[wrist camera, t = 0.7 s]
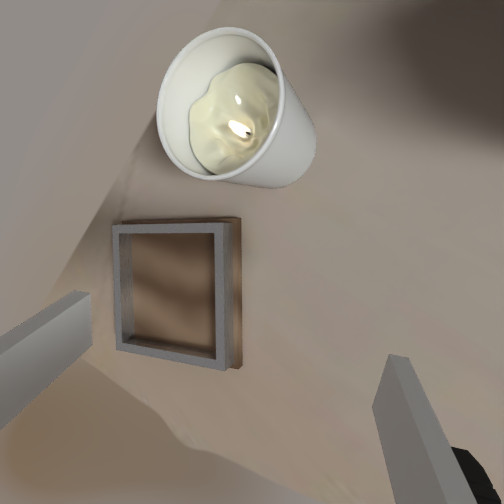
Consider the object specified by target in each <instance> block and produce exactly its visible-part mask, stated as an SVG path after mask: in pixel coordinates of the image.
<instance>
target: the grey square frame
mask: <svg viewBox="0 0 504 504" xmlns="http://www.w3.org/2000/svg"><path fill="white" fill-rule="evenodd" d="M132 233H214V243H215V314H216V352H215V351H209V350H203V349H197V348H192V347H186V346H180V345H174V344H168V343H162V342H156V341H151V340H145V339H139V338H135V335H134V301H133V267H132ZM112 238H113V268H114V299H115V329H116V350H120V351H125V352H130V353H135V354H140V355H145V356H150V357H155V358H161V359H166V360H171V361H176V362H181V363H186V364H191V365H196V366H201V367H206V368H211V369H216V370H221V371H226V370H227V369H228V368H229V367H231V366H232V365H233V364H234V314H233V223H183V224H136V225H112Z"/></svg>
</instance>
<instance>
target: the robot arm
mask: <svg viewBox="0 0 504 504" xmlns="http://www.w3.org/2000/svg"><path fill="white" fill-rule="evenodd" d="M91 346H92V321H91V295H90V293H86V292H82V291H77V290H74V291H73V292H71V293H69V294H68V295H66V296H65V297H63V298H61V299H60V300H58V301H57V302H55V303H53V304H52V305H50V306H49V307H47V308H45V309H44V310H42V311H41V312H39V313H37V314H36V315H34V316H33V317H31V318H29V319H28V320H27V321H25V322H23V323H21V324H20V325H18V326H17V327H15V328H14V329H12V330H10V331H9V332H7V333H6V334H4V335H2V336H1V337H0V430H1V429H2V428H3V427H5V426H6V425H7V424H8V423H9V422H10V421H11V420H12V419H13V418H14V417H15V416H16V415H17V414H19V413H20V412H21V411H22V410H23V409H24V408H25V407H26V406H27V405H28V404H29V403H30V402H31V401H33V400H34V399H35V398H36V397H37V396H38V395H39V394H40V393H41V392H42V391H43V390H44V389H45V388H47V387H48V386H49V385H50V384H51V383H52V382H53V381H54V380H55V379H56V378H57V377H58V376H59V375H60V374H62V373H63V372H64V371H65V370H66V369H67V368H68V367H69V366H70V365H71V364H72V363H73V362H74V361H76V360H77V359H78V358H79V357H80V356H81V355H82V354H83V353H84V352H85V351H86V350H87V349H88V348H90V347H91ZM372 409H373V413H374V417H375V421H376V425H377V429H378V433H379V437H380V441H381V445H382V449H383V453H384V457H385V462H386V466H387V470H388V474H389V478H390V482H391V486H392V490H393V494H394V498H395V502H396V504H501V500H500V498H499V496H498V494H497V492H496V490H495V489H493V485H492V483H491V481H490V479H489V478H488V476H487V474H486V472H485V470H484V468H483V467H482V466H481V465H480V464H479V462H478V461H477V460H476V459H475V458H474V457H473V456H472V455H471V454H470V453H469V451H468V450H463V449H459V448H455V447H450V445H449V442H448V440H447V438H446V436H445V434H444V432H443V430H442V428H441V426H440V423H439V421H438V419H437V417H436V415H435V413H434V411H433V409H432V407H431V404H430V402H429V400H428V398H427V396H426V394H425V392H424V390H423V388H422V385H421V383H420V381H419V379H418V377H417V375H416V373H415V371H414V369H413V366H412V364H411V362H410V360H409V358H406V357H401V356H396V355H391V354H389V356H388V359H387V362H386V365H385V368H384V371H383V374H382V378H381V381H380V384H379V387H378V390H377V393H376V396H375V399H374V402H373V405H372Z"/></svg>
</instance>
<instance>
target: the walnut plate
mask: <svg viewBox="0 0 504 504" xmlns="http://www.w3.org/2000/svg"><path fill="white" fill-rule="evenodd" d="M183 223H233V314H234V364H233V365H232V366H231V367H229V368H234V369H239V368H240V367H242V262H241V218H224V219H187V220H151V221H122V225H136V224H183ZM132 267H133V301H134V335H135V338H139V339H145V340H151V341H156V342H162V343H168V344H174V345H180V346H186V347H192V348H197V349H203V350H209V351H215V352H216V314H215V243H214V233H132Z"/></svg>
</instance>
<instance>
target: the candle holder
mask: <svg viewBox="0 0 504 504" xmlns="http://www.w3.org/2000/svg"><path fill="white" fill-rule="evenodd" d="M156 120H157V129H158V134H159V138H160V141H161V143H162V146H163V148H164V150H165V152H166V154H167V155H168V157H169V158H170V160H171V161H172V162H173V163H174V164H175V165H176V166H177V167H178V168H179V169H180V170H182V171H183V172H185V173H186V174H188V175H190V176H192V177H195V178H198V179H202V180H210V181H221V182H228V183H234V184H240V185H247V186H253V187H260V188H268V189H276V188H282V187H285V186H288V185H290V184H292V183H294V182H295V181H297V180H298V179H299V178H301V177H302V176H303V175H304V174H305V172H306V171H307V170H308V168H309V167H310V165H311V163H312V161H313V159H314V156H315V152H316V146H317V137H316V131H315V127H314V124H313V122H312V120H311V118H310V116H309V114H308V112H307V111H306V109H305V107H304V106H303V104H302V102H301V101H300V99H299V97H298V95H297V94H296V92H295V90H294V89H293V87H292V85H291V84H290V82H289V80H288V79H287V77H286V75H285V74H284V72H283V70H282V69H281V67H280V64H279V62H278V60H277V58H276V56H275V54H274V52H273V51H272V50H271V48H270V47H269V46H268V45H267V44H266V42H264V41H263V40H262V39H261V38H260V37H258V36H257V35H255V34H254V33H252V32H250V31H248V30H245V29H241V28H236V27H222V28H216V29H213V30H210V31H207V32H205V33H203V34H201V35H199V36H198V37H196V38H194V39H193V40H192V41H190V42H189V43H188V44H187V45H186V46H185V47H184V48H183V49H182V50H181V51H180V52H179V53H178V54H177V56H176V57H175V58H174V60H173V61H172V63H171V64H170V66H169V68H168V70H167V72H166V74H165V76H164V78H163V81H162V84H161V87H160V90H159V94H158V100H157V108H156Z"/></svg>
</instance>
